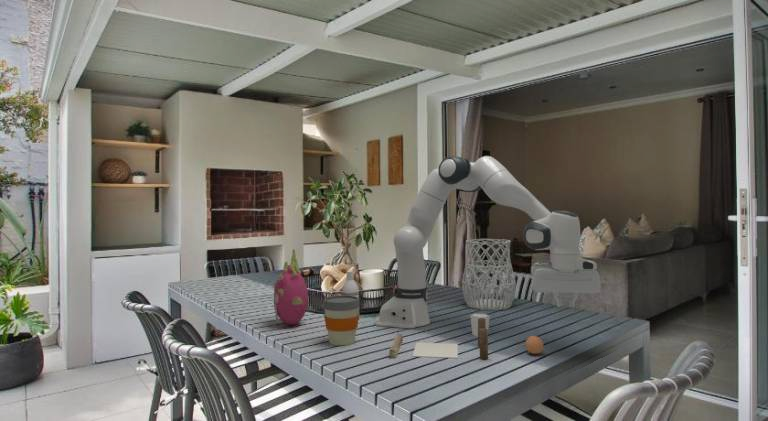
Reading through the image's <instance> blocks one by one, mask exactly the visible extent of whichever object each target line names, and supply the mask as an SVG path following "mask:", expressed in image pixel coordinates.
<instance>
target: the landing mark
mask: <svg viewBox="0 0 768 421" xmlns="http://www.w3.org/2000/svg"><path fill="white" fill-rule="evenodd" d="M458 350H459V343H446V342H441V343H440V342H416V343H415V346H414V350H413V353H412V358H413V357H414V358H415V357H416V358H417V357H420V358H442V359H459V358H458V356H459V355H458V354H459V352H458Z"/></svg>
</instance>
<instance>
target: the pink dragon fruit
mask: <svg viewBox="0 0 768 421" xmlns="http://www.w3.org/2000/svg"><path fill="white" fill-rule="evenodd" d="M290 260H291V261H290V264H288V261H285V262H284V263H283V264H284V265H283V269H282V273H279V274H278V277H277V280H276V282H274V283H273V308H274V316H275V320H276V322H277V323H278V322H279V319H280V320H281V321H282V322H283V323H284V324H285V325H289V326H293V325H297V324H298V323H300V322H301V321H302V319H303V318H304V316H305V314H306V311H307V308H308V304H309V294H308V293H309V292H308V287H307V283H306V281H305V279H304V277H303V275H302V274H301V271H300V267H299V263H298V259H297V255H296V250H295V249H292V256H291V259H290Z"/></svg>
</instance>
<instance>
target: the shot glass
mask: <svg viewBox="0 0 768 421" xmlns="http://www.w3.org/2000/svg"><path fill="white" fill-rule="evenodd" d="M469 317H470V322H471V323H470V324H471V334H472V336H475V337H478V319H479V318H484V319H485V320H486V329H488V330H490V329H489V326H490V315H489V314H486V313H481V312H479V313H478V312H477V313H472V314H470V316H469Z"/></svg>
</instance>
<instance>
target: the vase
mask: <svg viewBox="0 0 768 421" xmlns="http://www.w3.org/2000/svg"><path fill="white" fill-rule="evenodd" d="M465 243H466V244H465V245H466V260H465V266H464V270H463V273H462V274H463V275H462V279H461V291H462V295H463V299H464V302H465V304H466V306H467V307H469V308H472V309H476V310H481V311H501V310H508V309H510V308H511V307H512V304H513V303H514V299H515V297H516V291H517V290H516V289H517V284H516V277H515V274H514V270H513V265H512V261H511V254H510V253H511V240H510V239H504V238H502V239H501V238H500V239H499V238H475V239H473V238H472V239H467V240H465ZM475 245H476V247H474V246H475ZM484 245H486V246H487V248H486V249H485V248H484V247H483V246H484ZM496 245H497V246H498V247H497V248H495V247H494V246H496ZM504 246H505V247H504ZM480 249H481V250H482V251H483V252H481V254H479V253H478V252H479V251H480ZM491 249H492V251H493V253H492V255H490V253H489V250H491ZM500 250H501V251H502V254H500V252H499V251H500ZM472 251H473V252H472ZM485 257H487V259H486V260H485ZM496 257H497V259H498V260H495V258H496ZM475 259H477V260H475ZM479 271H480V273H481V275H480V276H478V273H479ZM491 271H492V272H493V275H494V276H490V274H491ZM469 273H470V275H469ZM503 273H504V275H505V276H504V277H503ZM485 280H486V285H485Z"/></svg>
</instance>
